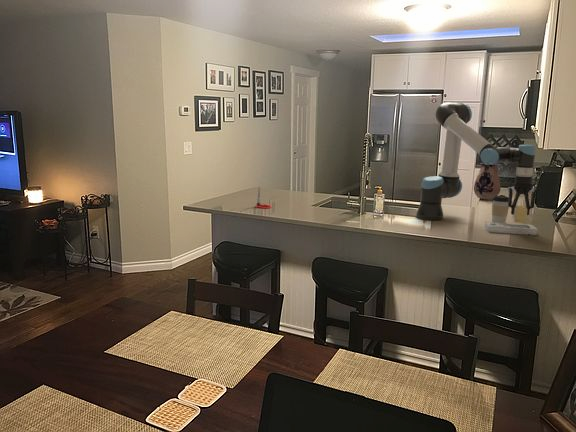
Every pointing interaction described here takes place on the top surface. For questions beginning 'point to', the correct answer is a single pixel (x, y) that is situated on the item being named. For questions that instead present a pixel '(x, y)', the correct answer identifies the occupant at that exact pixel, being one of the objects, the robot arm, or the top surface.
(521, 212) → the yellow rectangular block
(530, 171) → the robot arm
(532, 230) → the grey tray
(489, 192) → the ceramic pitcher
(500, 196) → the coffee cup
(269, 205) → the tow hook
